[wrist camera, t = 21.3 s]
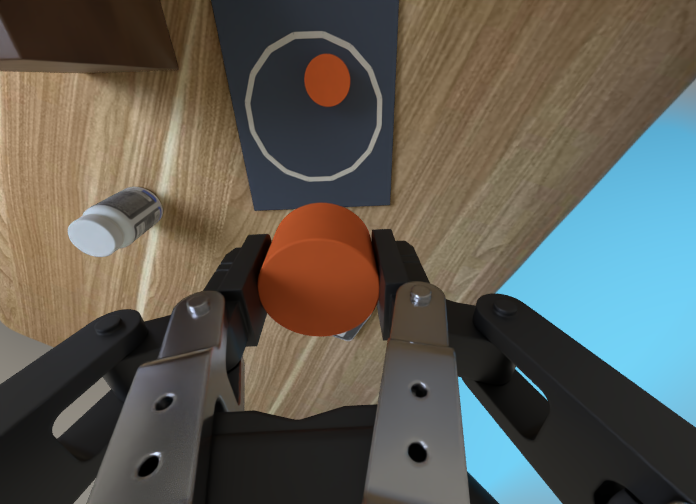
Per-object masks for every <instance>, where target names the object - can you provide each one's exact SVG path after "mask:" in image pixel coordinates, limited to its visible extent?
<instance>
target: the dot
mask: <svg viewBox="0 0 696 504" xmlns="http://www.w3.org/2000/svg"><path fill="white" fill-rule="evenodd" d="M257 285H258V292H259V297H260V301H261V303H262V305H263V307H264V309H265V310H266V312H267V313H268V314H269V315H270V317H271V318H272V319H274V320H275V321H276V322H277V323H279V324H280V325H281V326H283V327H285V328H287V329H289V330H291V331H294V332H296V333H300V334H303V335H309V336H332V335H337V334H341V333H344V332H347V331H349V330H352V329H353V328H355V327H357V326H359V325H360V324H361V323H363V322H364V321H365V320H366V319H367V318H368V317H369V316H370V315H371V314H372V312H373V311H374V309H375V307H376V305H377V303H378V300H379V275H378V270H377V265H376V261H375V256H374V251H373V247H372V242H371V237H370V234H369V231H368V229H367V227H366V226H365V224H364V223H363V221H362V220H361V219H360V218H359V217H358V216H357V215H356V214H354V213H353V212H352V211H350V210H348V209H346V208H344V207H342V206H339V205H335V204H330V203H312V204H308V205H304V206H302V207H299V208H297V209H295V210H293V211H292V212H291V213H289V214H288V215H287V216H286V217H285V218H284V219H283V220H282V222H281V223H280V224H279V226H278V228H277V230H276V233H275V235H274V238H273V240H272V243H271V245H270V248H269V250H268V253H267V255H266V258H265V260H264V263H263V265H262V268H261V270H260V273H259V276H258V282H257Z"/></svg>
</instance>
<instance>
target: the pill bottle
mask: <svg viewBox="0 0 696 504" xmlns="http://www.w3.org/2000/svg"><path fill="white" fill-rule="evenodd" d="M162 215H163V208H162V205H161V203H160V201H159V199H158V198H157V197H156V196H155V195H154V194H153V193H152V192H150V191H149V190H147V189H144V188H141V187H129V188H126V189H124V190H122V191H120V192H118V193H116V194H114V195H112V196H110V197H109V198H107V199H105V200H103V201H101V202H99V203H97V204H96V205H93V206H91V207H90V208H88V209H87V210H86V211H85V212H84V213H83V215H82V217H80V218H79V219H77V220H75V221H74V222H72V223H71V224H70V226H69V228H68V235H69V238H70V240H71V242H72V243H73V244H74V245H75V246H76V247H77V248H78V249H79V250H81V251H82V252H84V253H86V254H88V255H91V256H96V257H105V256H109V255H111V254H112V253H114V252H115V251H116V250H118V249H120V248H124V247H127V246H129V245H130V244H131V243H133V242H134V241H135V240H136V239H137V238H139V237H140V236H141V235H142V234H144V233H145V232H146V231H147V230H148V229H150V228H151V227H152V226H153V225H155V224H156V223H157V222H158V221H159V220H160V219H161V217H162Z"/></svg>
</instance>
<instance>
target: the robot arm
mask: <svg viewBox="0 0 696 504" xmlns="http://www.w3.org/2000/svg"><path fill="white" fill-rule="evenodd" d="M271 243H272V242H271V238H270V235H269V234H257V235H248V237H247V238H246V240H245V242H244V244H243V245H242V247H241V248H235V249H233V250H232V251H231V252H229V253H228V254H226V255H225V257H224V259H223V260H222V262H221V265H219V266H218V268H217V270H216V271H215V273H214V274H213V276H212V277H211V279H210V281H209V282H208V284H207V285H206V287H205V288H204V290H203V291H201V292H197V293H194V294H192V295H189V296H187V297H185V298H184V299H182V300H181V301H180V302H179V303H178V304H177V305H176V306H175V307H174V309H173V311H172V314H171V315H169V316H165V317H161V318H157V319H153V320H149V321H145V322H144V321H143V319H142V317H141V315H140V313H139V312H138V311H136V310H131V309H125V310H118V311H114V312H111V313H108V314H106V315H103V316H101V317H99V318H97V319H96V320H94V321H92V322H91V323H89V324H88V325H86V326H85V327H84V328H82V329H81V330H79V331H78V332H76V333H75V334H73V335H72V336H70V337H69V338H67V339H66V340H65V341H63V342H62V343H60V344H59V345H57V346H56V347H54V348H53V349H51V350H50V351H48V352H47V353H46V354H44V355H43V356H41V357H40V358H38V359H37V360H36V361H34V362H32V363H31V364H30V365H28V366H26V367H25V368H24V369H22V370H21V371H19V372H18V373H16V374H15V375H13V376H12V377H11V378H9V379H7V380H6V381H5V382H3V383H2V384H0V504H73V503H74V502H75V501H76V500H77V499H78V498H79V496H80V495H81V494H82V493H83V492H84V491H85V490H86V489H87V487H88V486H89V485H90V484H91V483H92V482H93V481H94V480H95V478H96V480H95V482H94V485H93V487H92V490H91V493H90V495H89V498H88V501H87V503H86V504H499V503H498V502H497V501H496V500H495V499H494V498H493V497H492V496H491V495H490V494H489V493H488V492H487V491H486V490H485V489H484V488H483V487H482V486H481V485H480V484H479V483H478V482H477V481H476V480H475V479H474V478H473V477H472V476H471V475H470V474H469V473H468V472H467V467H466V457H465V447H464V436H463V427H462V416H461V406H460V396H459V385H458V377H461V378H462V380H463V381H464V383H465V384H466V385H467V387H468V388H469V389H470V390H471V392H472V393H473V394H474V395H475V397H476V398H477V399H478V400H479V401H480V403H481V404H482V405H483V406H484V408H485V409H486V410H487V411H488V412H489V414H490V415H491V416H492V417H493V418H494V420H495V421H496V422H497V424H498V425H499V426H500V427H501V428H502V430H503V431H504V432H505V433H506V435H507V436H508V437H509V438H510V440H511V441H512V442H513V443H514V445H515V446H516V447H517V448H518V449H519V451H520V452H521V453H522V454H523V456H524V457H525V458H526V459H527V461H528V462H529V463H530V464H531V465H532V467H533V468H534V469H535V470H536V472H537V473H538V474H539V475H540V477H541V478H542V479H543V480H544V481H545V483H546V484H547V485H548V486H549V488H550V489H551V490H552V491H553V493H554V494H555V495H556V496H557V497H558V498H559V500H560V501H561V502H562V503H563V504H696V427H694V426H693V425H691V424H690V423H689V422H687V421H686V420H685V419H683V418H682V417H680V416H678V414H676V413H675V412H673V411H672V410H671V409H669V408H668V407H666V406H665V405H664V404H662V403H661V402H659V401H658V400H657V399H656V398H654V397H653V396H651V395H650V394H649V393H647V392H646V391H644V390H643V389H642V388H640V387H639V386H637V385H636V384H635V383H633V382H632V381H631V380H629V379H628V378H627V377H625V376H624V375H622V374H621V373H620V372H618V371H617V370H615V369H614V368H613V367H611V366H610V365H608V364H607V363H606V362H604V361H603V360H601V359H600V358H599V357H598V356H596V355H595V354H593V353H592V352H591V351H589V350H588V349H586V348H585V347H584V346H582V345H581V344H580V343H578V342H577V341H575V340H574V339H573V338H571V337H570V336H569V335H567V334H566V333H564V332H563V331H562V330H560V329H559V328H557V327H556V326H555V325H553V324H552V323H550V322H549V321H548V320H546V319H545V318H544V317H542V316H541V315H539V314H538V313H537V312H535V311H534V310H533V309H531V308H530V307H529V306H527V305H526V304H524V303H523V302H521V301H520V300H518V299H516V298H513V297H511V296H508V295H503V294H486V295H483V296H481V297H480V298H479V299H478V300H477V303H476V306H474V305H468V304H462V303H457V302H453V301H450V300H447V299H446V298H445V295H444V293H443V292H442V290H440V289H439V288H438V287H436V286H435V285H433V284H430V282H429V280H428V278H427V276H426V274H425V271H424V269H423V267H422V265H421V263H420V260H419V258H418V256H417V254H416V252H415V250H414V247H413V246H411V245H410V244H409V243H407V242H406V241H395V238H394V236H393V233H392V230H391V229H379V230H372V247H373V251H374V256H375V261H376V265H377V270H378V275H379V300H378V303H377V309H378V314H379V320H380V326H381V332H382V337H383V341H384V340H388V341H387V347H386V353H385V360H384V366H383V373H382V379H381V386H380V392H379V398H378V404H377V405H357V406H343V407H340V408H337V409H333V410H330V411H327V412H324V413H320V414H317V415H314V416H311V417H308V418H304V419H300V420H294V419H289V418H285V417H280V416H276V415H271V414H267V413H263V412H258V411H244V404H245V363H244V359H243V352H244V350H245V347H249V346H257V345H258V342H259V338H260V335H261V332H262V328H263V325H264V322H265V318H266V315H267V312H266V310H265V309H264V307H263V305H262V303H261V301H260V297H259V292H258V285H257V282H258V276H259V273H260V270H261V268H262V265H263V263H264V260H265V258H266V255H267V253H268V250H269V248H270V245H271ZM515 367H518V368H519V369H520V370H521V371H522V372H523V373H524V374H525V375H526V376H527V377H528V378H529V379H530V380H532V382H533V383H534V384H535V385H536V386H537V387H539V389H540V390H541V391H542V392H543V393H544V395H545V396H546V398H547V400H548V401H547V400H546V399H545V398H544V397H543V396H542V395H541V394H540V393H539V392H538V391H537V390H536V389H535V388H534V387H533V386H532V385H531V384H530V383H529V382H528V381H527V380H526V379H525V378H524V377H523V376H522V375H521V374H520V373H519V372H517V371H516V370H515ZM101 377H103V378H104V379H105V381H106V382H107V384H108V385H109V386H110V388H111V390H110V391H109V392H108V393H107V394H106V395H105V396H104V397H102V399H100V400H99V401H98V402H97V403H96V404H95V405H94V406H93V407H92V408H91V409H89V410H88V411H87V412H86V413H85V414H84V415H83V416H82V417H81V418H80V419H79V420H78V421H76V422H75V423H74V424H73V425H72V426H71V427H70V428H69V429H68V430H67V431H66V432H64V434H62V435H61V436H60V437H59V438H57V439H56V438H55V437H54V436H53V433H52V427H53V424H54V422H55V420H56V418H57V417H58V416H59V414H60V413H61V412H62V411H63V410H64V409H66V408H67V407H68V406H69V405H70V404H71V403H73V402H74V401H75V400H76V399H77V398H78V397H80V396H81V395H82V394H83V393H84V392H85V391H87V389H89V388H90V387H91V386H92V385H94V384H95V383H96V382H97V381H98V380H99V379H100V378H101Z"/></svg>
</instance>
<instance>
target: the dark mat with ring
mask: <svg viewBox="0 0 696 504" xmlns="http://www.w3.org/2000/svg"><path fill="white" fill-rule="evenodd" d="M211 2H212V7H213V12H214V17H215V22H216V26H217V31H218V36H219V41H220V46H221V51H222V55H223V60H224V65H225V70H226V75H227V80H228V84H229V89H230V94H231V99H232V104H233V109H234V113H235V118H236V123H237V128H238V133H239V138H240V142H241V147H242V152H243V157H244V162H245V166H246V171H247V176H248V181H249V186H250V191H251V195H252V200H253V205H254V210H255V211H259V210H283V209H297V208H299V207H302V206H304V205H308V204H312V203H330V204H335V205H339V206H342V207H356V206H380V205H390V195H391V172H392V149H393V126H394V103H395V80H396V57H397V34H398V11H399V0H211ZM321 54H332V55H335V56H337V57H338V58H340V59H341V60H342V61H343V62H344V63H345V65H346V66H347V68H348V71H349V74H350V88H349V92H348V94H347V96H346V97H345V99H344V100H343V101H342V102H341V103H339V104H338V105H335V106H332V107H325V106H321V105H319V104H317V103H315V102H314V101H313V100H312V99H311V98H310V96H309V95H308V93H307V90H306V87H305V82H304V77H305V71H306V68H307V66H308V64H309V63H310V62H311V60H312V59H314V58H315V57H316V56H318V55H321Z"/></svg>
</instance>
